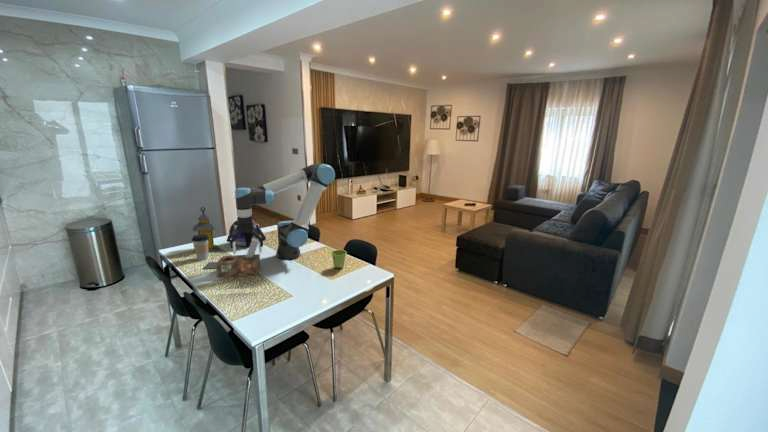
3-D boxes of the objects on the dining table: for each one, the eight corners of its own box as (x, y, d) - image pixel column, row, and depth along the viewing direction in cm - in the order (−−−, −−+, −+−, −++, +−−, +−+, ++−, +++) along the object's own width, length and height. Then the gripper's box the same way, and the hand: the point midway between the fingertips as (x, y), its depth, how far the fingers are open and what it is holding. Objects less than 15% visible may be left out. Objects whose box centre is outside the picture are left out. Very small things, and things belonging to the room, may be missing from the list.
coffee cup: (190, 260, 189) (187, 237, 186) (204, 255, 198) (201, 233, 194) (201, 262, 186) (198, 239, 182) (214, 257, 194) (212, 235, 191)
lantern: (195, 248, 210) (190, 206, 203) (218, 245, 217) (214, 204, 210) (195, 255, 198) (189, 210, 191) (219, 251, 205) (215, 208, 198)
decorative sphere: (236, 241, 227) (233, 215, 222) (264, 241, 229) (262, 215, 224) (226, 250, 208) (223, 221, 204) (256, 249, 210) (254, 221, 206)
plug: (251, 262, 175) (260, 237, 173) (250, 265, 171) (259, 239, 169) (245, 260, 174) (253, 235, 172) (243, 263, 170) (252, 237, 168)
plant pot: (350, 265, 185) (349, 252, 183) (337, 270, 178) (337, 256, 176) (340, 261, 191) (340, 248, 189) (328, 265, 184) (327, 252, 182)
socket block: (260, 266, 181) (259, 254, 179) (256, 275, 169) (255, 261, 167) (224, 268, 177) (222, 255, 175) (217, 277, 165) (215, 263, 163)
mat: (226, 262, 187) (226, 261, 187) (221, 268, 177) (221, 267, 177) (208, 263, 185) (208, 262, 185) (202, 269, 176) (202, 268, 176)
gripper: (269, 214, 173) (272, 249, 177) (222, 215, 168) (226, 251, 173) (267, 217, 166) (269, 254, 170) (217, 218, 161) (221, 256, 166)
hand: (247, 252), depth 172 cm, fingers open, 13 cm apart
